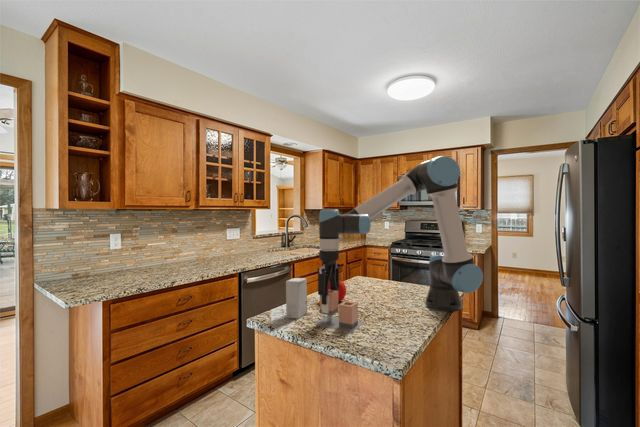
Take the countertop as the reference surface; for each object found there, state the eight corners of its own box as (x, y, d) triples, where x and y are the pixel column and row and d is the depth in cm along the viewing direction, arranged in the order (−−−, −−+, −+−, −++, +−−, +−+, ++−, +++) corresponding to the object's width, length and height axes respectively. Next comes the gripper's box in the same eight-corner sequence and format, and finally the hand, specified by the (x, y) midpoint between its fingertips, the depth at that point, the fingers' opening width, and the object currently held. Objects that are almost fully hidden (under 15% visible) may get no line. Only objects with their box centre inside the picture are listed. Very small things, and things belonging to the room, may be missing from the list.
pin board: (364, 324, 116) (364, 309, 116) (352, 334, 107) (351, 318, 107) (327, 316, 125) (327, 303, 125) (313, 325, 115) (312, 310, 115)
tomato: (323, 297, 153) (323, 276, 153) (346, 297, 152) (346, 277, 152) (321, 304, 141) (320, 282, 141) (346, 305, 140) (346, 282, 140)
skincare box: (298, 319, 122) (298, 282, 122) (285, 317, 124) (285, 280, 124) (307, 313, 130) (307, 277, 130) (295, 311, 132) (294, 276, 132)
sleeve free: (338, 311, 119) (338, 290, 119) (331, 315, 114) (331, 293, 114) (326, 309, 121) (326, 289, 121) (319, 313, 117) (319, 292, 117)
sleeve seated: (357, 324, 115) (357, 302, 115) (351, 329, 110) (351, 306, 110) (345, 321, 117) (345, 300, 117) (339, 326, 113) (338, 304, 113)
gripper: (332, 246, 127) (332, 302, 128) (307, 251, 112) (307, 315, 112) (348, 247, 124) (348, 305, 124) (325, 253, 108) (325, 319, 108)
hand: (329, 310), depth 118 cm, fingers closed on sleeve free, 5 cm apart
